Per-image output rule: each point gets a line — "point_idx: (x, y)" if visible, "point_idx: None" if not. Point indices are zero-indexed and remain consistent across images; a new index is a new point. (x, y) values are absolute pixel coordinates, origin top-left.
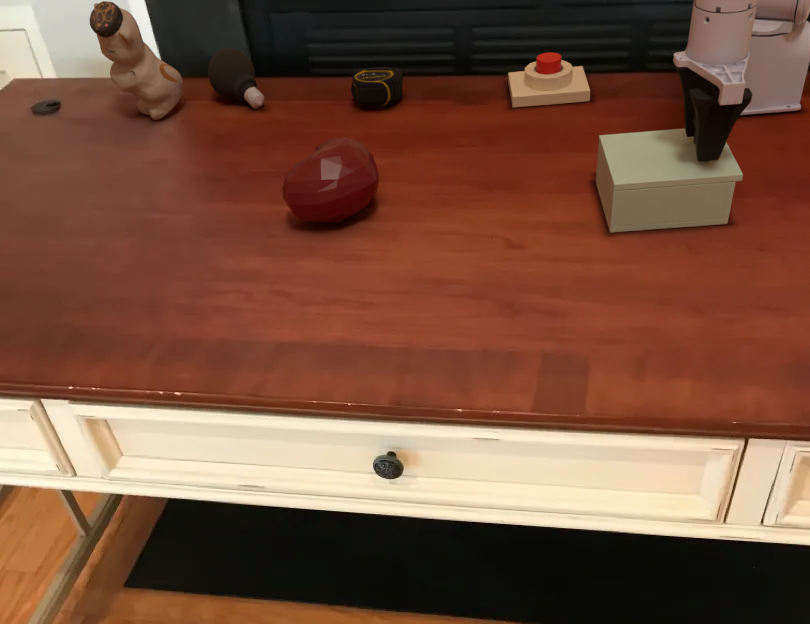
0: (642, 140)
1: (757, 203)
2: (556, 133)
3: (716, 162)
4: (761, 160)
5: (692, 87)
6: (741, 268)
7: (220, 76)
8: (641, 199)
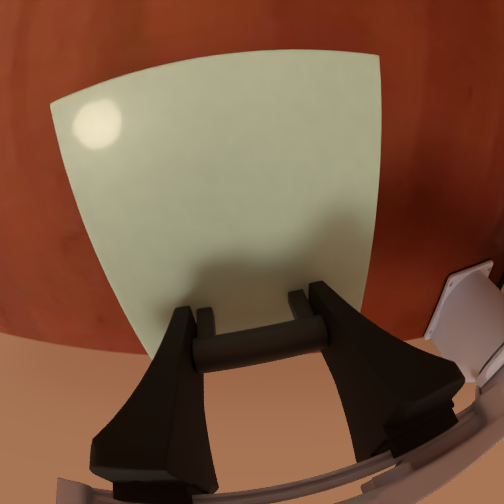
0: (332, 171)
1: None
2: (475, 50)
3: None
4: None
5: (362, 381)
6: (53, 298)
7: None
8: None
